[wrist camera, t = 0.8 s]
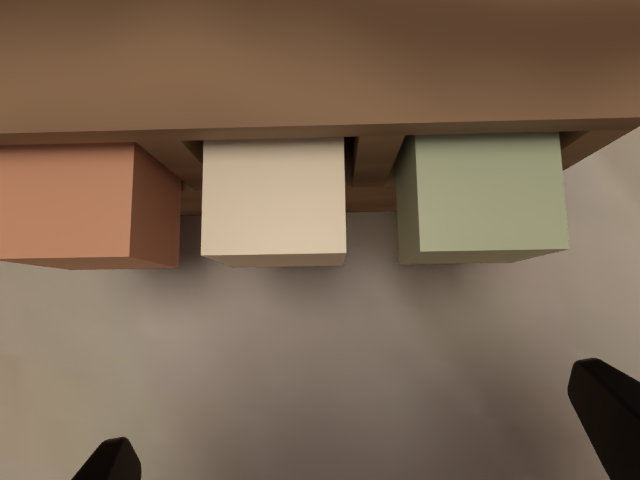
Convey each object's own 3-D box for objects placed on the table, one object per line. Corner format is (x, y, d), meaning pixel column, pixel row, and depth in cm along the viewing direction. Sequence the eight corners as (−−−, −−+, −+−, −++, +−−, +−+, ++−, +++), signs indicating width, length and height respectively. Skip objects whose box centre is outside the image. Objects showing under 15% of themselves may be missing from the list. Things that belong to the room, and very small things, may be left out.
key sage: (511, 262, 16) (569, 248, 12) (398, 264, 16) (420, 251, 12) (499, 103, 17) (550, 42, 13) (392, 106, 17) (410, 46, 13)
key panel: (497, 209, 21) (655, 116, 11) (104, 216, 22) (-108, 136, 11) (485, 45, 23) (617, -180, 12) (112, 56, 23) (-72, -151, 13)
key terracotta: (178, 268, 16) (129, 256, 12) (70, 269, 16) (-13, 259, 12) (183, 112, 17) (138, 54, 13) (80, 114, 17) (6, 58, 13)
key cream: (343, 265, 16) (346, 252, 12) (233, 267, 16) (200, 255, 12) (339, 108, 17) (341, 48, 13) (235, 110, 17) (205, 52, 13)
